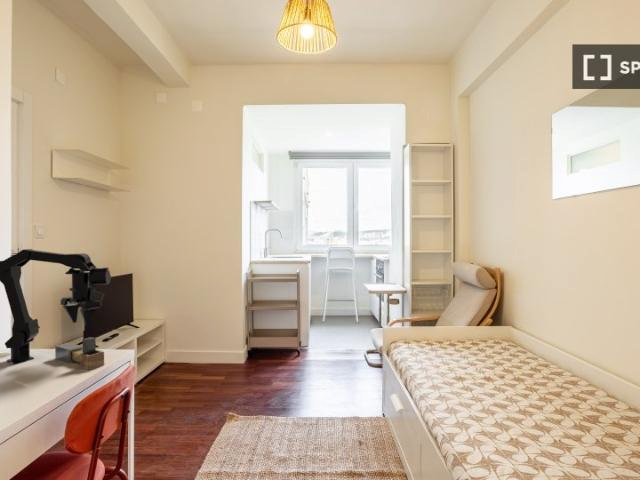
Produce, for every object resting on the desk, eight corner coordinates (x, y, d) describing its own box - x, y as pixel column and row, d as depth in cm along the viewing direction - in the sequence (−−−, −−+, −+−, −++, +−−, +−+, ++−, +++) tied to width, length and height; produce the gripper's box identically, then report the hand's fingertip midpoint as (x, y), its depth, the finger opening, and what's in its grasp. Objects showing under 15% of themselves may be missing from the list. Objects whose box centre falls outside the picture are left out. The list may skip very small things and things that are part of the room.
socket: (80, 366, 134) (80, 353, 134) (95, 362, 139) (95, 349, 139) (89, 369, 131) (89, 356, 131) (104, 365, 136) (104, 351, 136)
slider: (67, 358, 141) (67, 335, 140) (76, 355, 143) (76, 333, 143) (89, 365, 133) (89, 340, 133) (98, 362, 136) (98, 338, 136)
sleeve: (55, 358, 143) (55, 345, 143) (69, 354, 147) (69, 342, 147) (69, 362, 138) (69, 349, 138) (83, 358, 143) (82, 346, 143)
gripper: (114, 284, 148) (114, 322, 148) (88, 281, 157) (88, 317, 157) (85, 287, 138) (86, 328, 138) (59, 284, 147) (60, 322, 147)
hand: (81, 323), depth 146 cm, fingers open, 9 cm apart
